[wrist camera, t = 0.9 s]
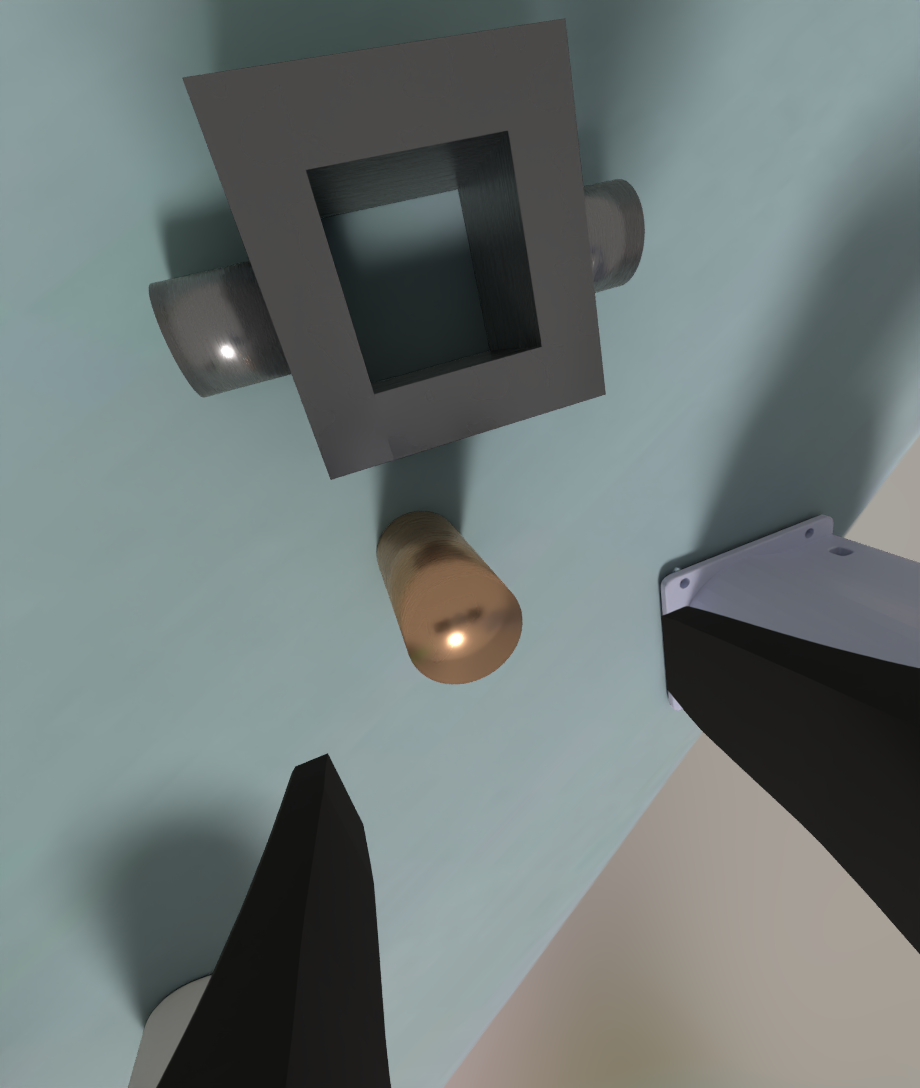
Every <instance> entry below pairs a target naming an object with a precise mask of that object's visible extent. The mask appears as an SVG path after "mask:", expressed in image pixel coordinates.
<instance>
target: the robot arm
mask: <svg viewBox="0 0 920 1088" xmlns="http://www.w3.org/2000/svg"><path fill="white" fill-rule="evenodd" d="M833 525H834V522H833V519H832V517H829V516H826V515H819V516H816V517H814V518H811V519H809V520H806V521H804V522H801V523H799V524H796V525H794V526H791V527H789V528H786V529H783V530H781V531H778V532H776V533H773V534H771V535H768V536H766V537H763V538H761V539H758V540H756V541H753V542H751V543H748V544H745V545H743V546H740V547H738V548H735V549H733V550H730V551H728V552H725V553H723V554H720V555H718V556H715V557H712V558H710V559H707V560H705V561H702V562H700V563H697V564H695V565H692V566H690V567H687V568H685V569H682V570H680V571H677V572H674V573H672V574H669V575H668V576H666V577H665V578H664V579H663V581H662V583H661V598H662V612H663V616H662V625H663V639H664V652H665V666H666V679H667V690H668V694H669V703H670V705H671V706H672V707H673V708H674V709H675V710H682V709H683V710H684V711H685V712H686V713H687V714H688V715H689V717H690V718H691V719H692V720H693V721H694V722H695V723H696V725H697V726H698V727H699V728H700V729H701V730H702V731H703V732H704V733H705V734H706V735H707V736H708V737H709V738H710V739H711V740H712V741H713V742H714V743H715V744H716V745H717V746H718V747H720V748H721V749H722V750H723V751H724V752H725V753H726V754H727V755H728V756H729V757H730V758H731V759H732V760H733V761H734V762H735V763H737V764H738V765H739V766H740V767H741V768H742V769H743V770H744V771H745V772H746V773H747V774H748V775H749V776H751V777H752V778H753V779H754V780H755V781H756V782H757V783H758V784H759V785H760V786H761V787H762V788H763V789H764V790H766V791H767V792H768V793H769V794H770V795H771V796H772V797H773V798H774V799H776V801H777V802H778V803H779V804H781V805H782V806H783V807H784V808H785V809H786V810H787V811H788V812H789V813H790V814H791V815H792V816H793V817H795V818H796V819H797V820H798V821H799V822H800V823H801V824H802V825H803V826H804V827H805V828H806V829H807V830H808V831H809V832H810V833H811V834H812V835H813V836H814V837H815V838H816V839H817V840H818V841H819V842H820V843H821V844H822V845H823V846H824V847H825V848H826V850H827V851H828V852H829V853H830V854H831V855H832V856H833V857H834V858H835V859H836V860H837V862H838V863H839V864H840V865H841V866H842V867H843V868H844V869H845V870H846V871H847V873H848V874H849V875H850V876H851V877H852V878H853V879H854V880H855V881H856V882H857V883H858V884H859V886H860V887H861V888H862V889H863V890H864V891H865V892H866V893H867V894H868V895H869V897H870V898H871V899H872V900H873V901H874V902H875V903H876V904H877V906H878V907H879V908H880V909H881V910H882V911H883V913H884V914H885V915H886V916H887V917H888V918H889V919H890V921H891V922H892V923H893V924H894V925H895V926H896V927H897V929H898V930H899V931H900V932H901V933H902V934H903V935H904V936H905V938H906V939H907V940H908V941H909V942H910V943H911V945H913V947H914V948H915V949H916V950H917V951H918V952H919V954H920V563H919V562H916V561H913V560H909V559H906V558H903V557H900V556H897V555H894V554H891V553H888V552H885V551H882V550H879V549H876V548H873V547H870V546H867V545H863V544H861V543H857V542H854V541H851V540H848V539H845V538H842V537H839V536H836V535H833ZM682 580H683V581H682ZM681 581H682V583H681V584H680V582H681ZM156 1088H391V1084H390V1076H389V1067H388V1058H387V1048H386V1039H385V1025H384V1011H383V998H382V984H381V971H380V957H379V943H378V930H377V917H376V904H375V892H374V881H373V876H372V870H371V864H370V858H369V853H368V847H367V842H366V837H365V831H364V826H363V823H362V821H361V819H360V817H359V815H358V813H357V811H356V809H355V807H354V805H353V803H352V801H351V799H350V797H349V795H348V793H347V791H346V789H345V787H344V785H343V783H342V781H341V779H340V777H339V775H338V773H337V771H336V769H335V767H334V765H333V763H332V761H331V759H330V757H329V755H328V753H327V754H325V755H323V756H320V757H318V758H315V759H313V760H310V761H308V762H306V763H303V764H301V765H298V766H296V767H295V768H294V770H293V772H292V774H291V777H290V780H289V783H288V786H287V789H286V792H285V794H284V797H283V800H282V803H281V806H280V809H279V812H278V814H277V817H276V820H275V823H274V826H273V828H272V831H271V834H270V836H269V839H268V842H267V845H266V847H265V850H264V852H263V855H262V857H261V860H260V863H259V865H258V868H257V870H256V873H255V875H254V878H253V880H252V883H251V885H250V888H249V891H248V893H247V896H246V898H245V900H244V903H243V905H242V908H241V910H240V912H239V915H238V917H237V919H236V921H235V924H234V926H233V928H232V931H231V933H230V935H229V937H228V940H227V942H226V944H225V946H224V949H223V951H222V953H221V956H220V958H219V960H218V962H217V965H216V967H215V969H214V971H213V974H212V976H211V978H210V980H209V982H208V984H207V986H206V989H205V991H204V993H203V995H202V997H201V999H200V1001H199V1003H198V1005H197V1008H196V1010H195V1012H194V1014H193V1016H192V1018H191V1020H190V1022H189V1024H188V1026H187V1028H186V1030H185V1032H184V1034H183V1036H182V1038H181V1040H180V1042H179V1044H178V1046H177V1048H176V1050H175V1052H174V1054H173V1056H172V1058H171V1060H170V1062H169V1064H168V1066H167V1068H166V1069H165V1071H164V1073H163V1075H162V1077H161V1079H160V1081H159V1083H158V1085H157V1087H156Z"/></svg>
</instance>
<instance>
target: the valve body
mask: <svg viewBox="0 0 920 1088" xmlns="http://www.w3.org/2000/svg"><path fill="white" fill-rule="evenodd" d="M183 81H184V84H185V86H186V89H187V92H188V94H189V97H190V100H191V103H192V105H193V108H194V111H195V113H196V116H197V119H198V122H199V124H200V127H201V130H202V132H203V135H204V138H205V141H206V143H207V146H208V149H209V151H210V154H211V157H212V160H213V162H214V165H215V168H216V170H217V173H218V176H219V178H220V181H221V184H222V187H223V189H224V192H225V195H226V197H227V200H228V203H229V206H230V208H231V211H232V214H233V216H234V219H235V222H236V225H237V227H238V230H239V233H240V235H241V238H242V241H243V244H244V246H245V249H246V252H247V254H248V257H249V260H250V261H249V262H245V263H240V264H236V265H231V266H227V267H222V268H218V269H213V270H209V271H205V272H200V273H196V274H191V275H187V276H182V277H178V278H173V279H169V280H164V281H160V282H155V283H151V284H150V285H149V296H150V300H151V304H152V308H153V311H154V314H155V317H156V319H157V322H158V325H159V327H160V329H161V332H162V334H163V336H164V339H165V341H166V343H167V345H168V347H169V349H170V351H171V353H172V355H173V357H174V359H175V361H176V363H177V364H178V366H179V368H180V370H181V371H182V373H183V375H184V376H185V378H186V379H187V381H188V382H189V384H190V385H191V386H192V388H193V389H194V390H195V391H196V392H197V393H198V394H199V395H200V396H201V397H208V396H211V395H215V394H219V393H223V392H226V391H230V390H234V389H238V388H241V387H245V386H249V385H253V384H256V383H260V382H264V381H267V380H271V379H275V378H279V377H282V376H286V375H290V374H292V376H293V379H294V382H295V384H296V387H297V390H298V393H299V395H300V398H301V401H302V403H303V406H304V409H305V412H306V414H307V417H308V420H309V422H310V425H311V428H312V431H313V433H314V436H315V439H316V441H317V444H318V447H319V449H320V452H321V455H322V458H323V460H324V463H325V466H326V468H327V471H328V474H329V477H330V479H331V480H332V479H335V478H338V477H341V476H344V475H348V474H351V473H354V472H357V471H361V470H364V469H367V468H370V467H373V466H377V465H380V464H383V463H386V462H389V461H393V460H396V459H399V458H402V457H406V456H409V455H412V454H415V453H418V452H422V451H425V450H428V449H431V448H435V447H438V446H441V445H444V444H447V443H451V442H454V441H457V440H460V439H463V438H467V437H470V436H473V435H476V434H480V433H483V432H486V431H489V430H492V429H496V428H499V427H502V426H505V425H509V424H512V423H515V422H518V421H521V420H525V419H528V418H531V417H534V416H538V415H541V414H544V413H547V412H550V411H554V410H557V409H560V408H563V407H566V406H570V405H573V404H576V403H579V402H583V401H586V400H589V399H592V398H595V397H599V396H602V395H605V394H606V393H605V384H604V374H603V365H602V356H601V347H600V337H599V328H598V319H597V309H596V300H595V293H596V292H599V291H603V290H607V289H611V288H614V287H618V286H621V285H624V284H625V283H627V282H628V281H629V280H630V279H631V278H632V276H633V275H634V273H635V272H636V269H637V267H638V265H639V262H640V259H641V256H642V251H643V246H644V233H645V229H644V216H643V210H642V206H641V203H640V200H639V197H638V195H637V193H636V191H635V190H634V188H633V187H632V186H631V185H630V184H629V183H628V182H627V181H625V180H622V179H616V180H611V181H606V182H602V183H597V184H593V185H589V186H584V187H583V180H582V170H581V161H580V152H579V143H578V133H577V124H576V115H575V105H574V96H573V87H572V78H571V68H570V59H569V50H568V41H567V31H566V22H565V19H559V20H552V21H546V22H539V23H533V24H526V25H520V26H513V27H507V28H500V29H494V30H487V31H481V32H475V33H468V34H462V35H455V36H449V37H442V38H436V39H429V40H423V41H416V42H410V43H404V44H397V45H391V46H384V47H378V48H371V49H365V50H358V51H352V52H345V53H339V54H332V55H326V56H320V57H313V58H307V59H300V60H294V61H287V62H281V63H274V64H268V65H261V66H255V67H248V68H242V69H236V70H229V71H223V72H216V73H210V74H203V75H197V76H190V77H184V78H183ZM456 189H458V191H459V196H460V201H461V206H462V211H463V216H464V221H465V226H466V231H467V236H468V241H469V246H470V251H471V256H472V261H473V266H474V272H475V277H476V282H477V287H478V292H479V297H480V302H481V307H482V312H483V317H484V322H485V327H486V332H487V337H488V342H489V347H490V351H486V352H482V353H479V354H475V355H472V356H468V357H465V358H461V359H457V360H454V361H450V362H447V363H443V364H439V365H436V366H432V367H429V368H425V369H422V370H418V371H414V372H411V373H407V374H404V375H400V376H397V377H393V378H389V379H386V380H382V381H379V382H375V383H372V384H371V383H370V379H369V376H368V373H367V369H366V366H365V363H364V360H363V356H362V353H361V350H360V346H359V343H358V340H357V337H356V333H355V330H354V327H353V324H352V320H351V317H350V314H349V310H348V307H347V304H346V301H345V297H344V294H343V291H342V287H341V284H340V281H339V278H338V274H337V271H336V268H335V265H334V261H333V258H332V255H331V251H330V248H329V245H328V242H327V238H326V235H325V232H324V228H323V225H322V222H321V219H320V218H325V217H330V216H335V215H339V214H344V213H349V212H353V211H358V210H363V209H367V208H372V207H377V206H381V205H386V204H391V203H395V202H400V201H405V200H409V199H414V198H419V197H423V196H428V195H433V194H437V193H442V192H447V191H451V190H456Z"/></svg>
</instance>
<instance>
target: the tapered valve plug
mask: <svg viewBox="0 0 920 1088" xmlns="http://www.w3.org/2000/svg"><path fill="white" fill-rule="evenodd" d="M377 562H378V565H379V568H380V571H381V574H382V577H383V580H384V583H385V586H386V589H387V592H388V595H389V598H390V601H391V604H392V607H393V610H394V613H395V616H396V618H397V621H398V624H399V627H400V630H401V633H402V636H403V639H404V642H405V645H406V648H407V651H408V654H409V656H410V659H411V661H412V662H413V664H414V665H415V667H416V668H417V669H418V670H419V671H420V672H421V673H422V674H423V675H425V676H426V677H428V678H430V679H432V680H434V681H437V682H440V683H445V684H464V683H469V682H473V681H476V680H479V679H481V678H483V677H485V676H487V675H489V674H491V673H492V672H494V671H495V670H496V669H498V668H499V667H500V666H501V665H502V664H503V663H504V662H505V661H506V660H507V659H508V658H509V657H510V655H511V654H512V652H513V651H514V649H515V647H516V646H517V643H518V641H519V638H520V635H521V631H522V612H521V609H520V605H519V603H518V601H517V599H516V598H515V596H514V595H513V594H512V592H511V591H510V590H509V589H508V588H507V587H506V586H505V585H504V583H503V582H502V581H501V580H500V579H499V578H498V577H497V575H496V574H495V573H494V572H493V571H492V570H491V569H490V567H489V566H488V565H487V564H486V563H485V562H484V561H483V560H482V558H481V557H480V556H479V555H478V554H477V553H476V552H475V550H474V549H473V548H472V547H471V546H470V545H469V544H468V542H467V541H466V540H465V539H464V538H463V537H462V536H461V535H460V533H459V532H458V531H457V530H456V529H455V528H454V527H453V525H452V524H451V523H450V522H449V521H448V520H446V519H445V518H444V517H442V516H440V515H438V514H436V513H432V512H427V511H417V512H411V513H407V514H405V515H402V516H401V517H399V518H397V519H396V520H394V521H393V522H392V523H391V524H390V525H389V526H388V527H387V528H386V529H385V530H384V532H383V534H382V535H381V537H380V540H379V543H378V546H377Z"/></svg>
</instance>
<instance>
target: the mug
mask: <svg viewBox="0 0 920 1088" xmlns="http://www.w3.org/2000/svg"><path fill="white" fill-rule="evenodd" d="M211 976H212V975H210V976H207V977H204V978H201V979H198V980H196V981H193V982H191V983H189V984H187V985H185V986H183V987H181V988H179V989H178V990H176V991H175V992H173V993H172V994H170V995H169V996H168V997H166V998H165V999H164V1000H163V1001H162V1002H161V1003H160V1004H159V1005H158V1006H157V1007H156V1008H155V1009H154V1011H153V1012H152V1013H151V1015H150V1017H149V1018H148V1020H147V1023H146V1025H145V1028H144V1031H143V1035H142V1039H141V1042H140V1046H139V1050H138V1053H137V1057H136V1060H135V1064H134V1067H133V1071H132V1075H131V1078H130V1082H129V1085H128V1088H156V1087H157V1085H158V1083H159V1081H160V1079H161V1077H162V1075H163V1073H164V1071H165V1069H166V1068H167V1066H168V1064H169V1062H170V1060H171V1058H172V1056H173V1054H174V1052H175V1050H176V1048H177V1046H178V1044H179V1042H180V1040H181V1038H182V1036H183V1034H184V1032H185V1030H186V1028H187V1026H188V1024H189V1022H190V1020H191V1018H192V1016H193V1014H194V1012H195V1010H196V1008H197V1005H198V1003H199V1001H200V999H201V997H202V995H203V993H204V991H205V989H206V986H207V984H208V982H209V980H210V978H211Z"/></svg>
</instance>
